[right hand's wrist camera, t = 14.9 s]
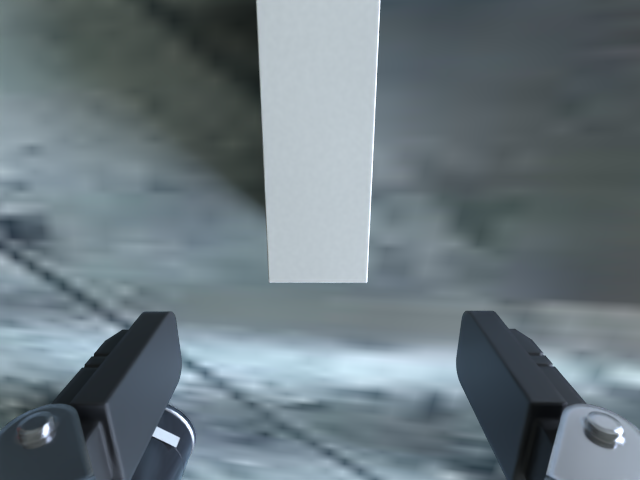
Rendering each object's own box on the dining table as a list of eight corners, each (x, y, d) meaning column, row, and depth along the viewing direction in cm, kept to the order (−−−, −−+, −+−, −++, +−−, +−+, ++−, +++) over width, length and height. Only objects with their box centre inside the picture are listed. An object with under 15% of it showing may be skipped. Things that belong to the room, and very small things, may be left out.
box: (352, 221, 37) (366, 283, 25) (285, 220, 37) (268, 282, 25) (363, -140, 28) (395, -313, 16) (275, -140, 28) (241, -313, 16)
